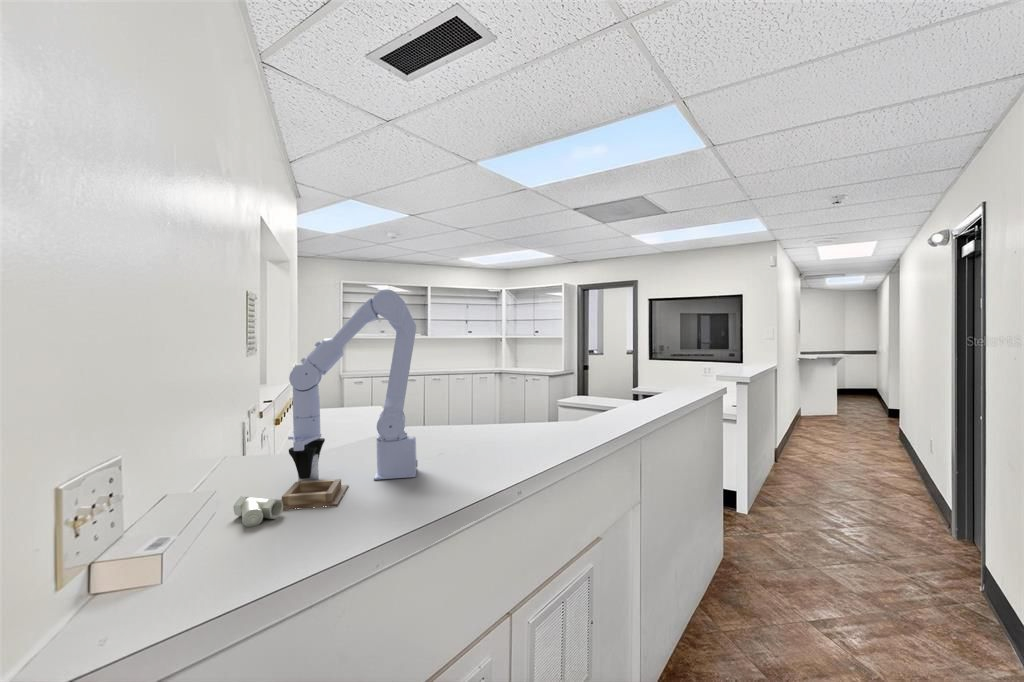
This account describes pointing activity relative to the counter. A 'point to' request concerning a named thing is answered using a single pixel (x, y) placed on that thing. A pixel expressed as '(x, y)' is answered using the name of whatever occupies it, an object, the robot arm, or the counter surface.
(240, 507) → the pipe fitting
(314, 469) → the silver metal cylinder
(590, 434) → the counter surface
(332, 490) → the cradle board
